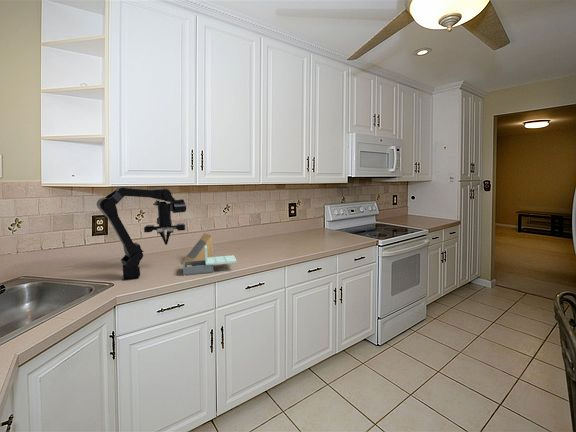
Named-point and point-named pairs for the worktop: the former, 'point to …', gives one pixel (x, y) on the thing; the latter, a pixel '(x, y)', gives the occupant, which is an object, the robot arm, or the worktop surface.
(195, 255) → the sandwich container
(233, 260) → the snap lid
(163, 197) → the robot arm
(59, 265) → the worktop surface
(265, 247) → the worktop surface
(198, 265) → the parts tub
